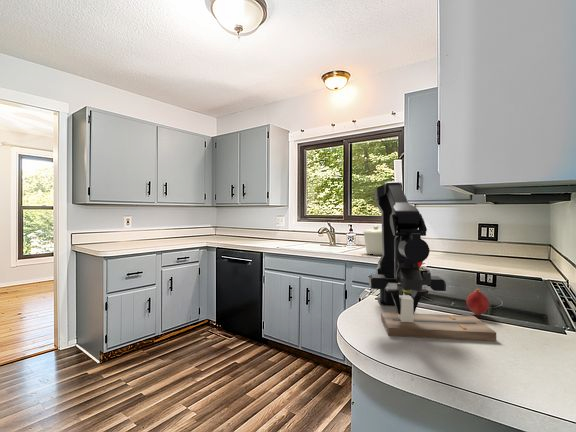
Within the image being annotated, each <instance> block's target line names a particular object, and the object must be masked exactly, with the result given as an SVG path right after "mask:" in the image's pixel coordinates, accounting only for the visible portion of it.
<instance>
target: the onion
mask: <svg viewBox="0 0 576 432" xmlns="http://www.w3.org/2000/svg"><path fill="white" fill-rule="evenodd" d="M465 301H466V302H465V303H466V306H467V308H468V309H469V310H470V311H471V312H472V313H473V314H474V315H475V316H481V315H482V314H484V313H485V312H486V311H488V310H489V308H490V302H489V299H488V297H487V296H486V295H485V294H484V293H482V292H481V290H480V288H476V289H475V290H474V291H473V292H470V294H469V295H467V298H466V300H465Z"/></svg>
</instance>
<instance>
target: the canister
mask: <svg viewBox="0 0 576 432" xmlns="http://www.w3.org/2000/svg"><path fill="white" fill-rule="evenodd" d="M362 233H363V235H364V245H365V251H366V254H368V255H370V254H374V255H373V256H382V228H381V229H379V225H375V224H374V225H373V227H372V228H370V229H369V228H368V229H365V230H364V231H362Z"/></svg>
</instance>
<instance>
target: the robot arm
mask: <svg viewBox="0 0 576 432" xmlns="http://www.w3.org/2000/svg"><path fill="white" fill-rule="evenodd" d="M374 200H375V201H376V207H377V209H378V210H379V212H380V213H381V229H382V255H381V257H380V259H379V260H378V262H377V267H376V269H375V273H374V274H370V275H369V277H368V284H369V286H370V289H374V290H379V297H377V301H378V302H379V305H388V306H394V307H395V308H396V311H397V313H398V314H400V300H399V295H400V290H399V288H398V286H399V287H401V289H403V290H406V291H408V290H412V291H411V294H410V296H411V297H412V299H413V315H414V314H416V309H417V307H418V304H419V302H420V300H421V298H422V297H423V296H424V295H425V294H429V291H428V287H430V289H432V291H435V292H446V291H447V283H446V281H445V280H444V279H443V278H442V277H440V276H438V275H432V273H431V271H430V269H429V270H428V269H426V270H425V269H422V270H421V271H419V269H420V268H418V262H422V261H423V262H425V261H426V260H427V259H428V258H429V255H430V246H429V244H428V243H427V242H426V241H425V240H423V239H422V237H426V236H427V232H428V229H427V226H426V223H425V220H424V218H423V216H422V213H420V211H419V209H418V208H417V207H416V205H413V204H410V203H409V201H408V199H407V197H406V194H405V192H404V190H403V184H402V182H400V181H386V182H384V183H383V184H381V185H380V186H377V187H376V189H375V190H374ZM403 290H402V291H403Z"/></svg>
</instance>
